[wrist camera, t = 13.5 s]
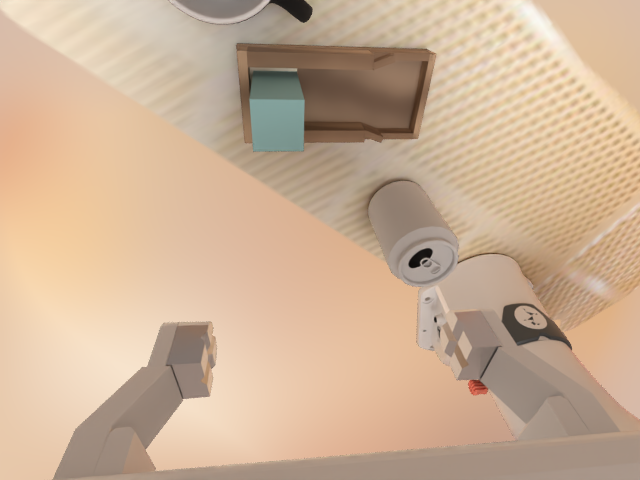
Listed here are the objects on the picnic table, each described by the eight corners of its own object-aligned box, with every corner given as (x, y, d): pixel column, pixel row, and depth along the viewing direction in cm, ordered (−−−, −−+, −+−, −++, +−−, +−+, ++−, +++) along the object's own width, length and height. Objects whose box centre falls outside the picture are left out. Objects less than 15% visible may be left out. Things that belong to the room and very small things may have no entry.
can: (395, 165, 42) (433, 224, 32) (436, 196, 45) (480, 258, 36) (354, 210, 45) (377, 275, 35) (394, 236, 48) (425, 302, 39)
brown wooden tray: (410, 130, 39) (421, 142, 36) (244, 130, 37) (242, 143, 34) (426, 49, 34) (440, 56, 31) (237, 43, 32) (234, 50, 29)
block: (296, 71, 33) (304, 99, 26) (296, 114, 36) (303, 151, 29) (253, 70, 33) (249, 99, 26) (256, 114, 35) (253, 151, 28)
